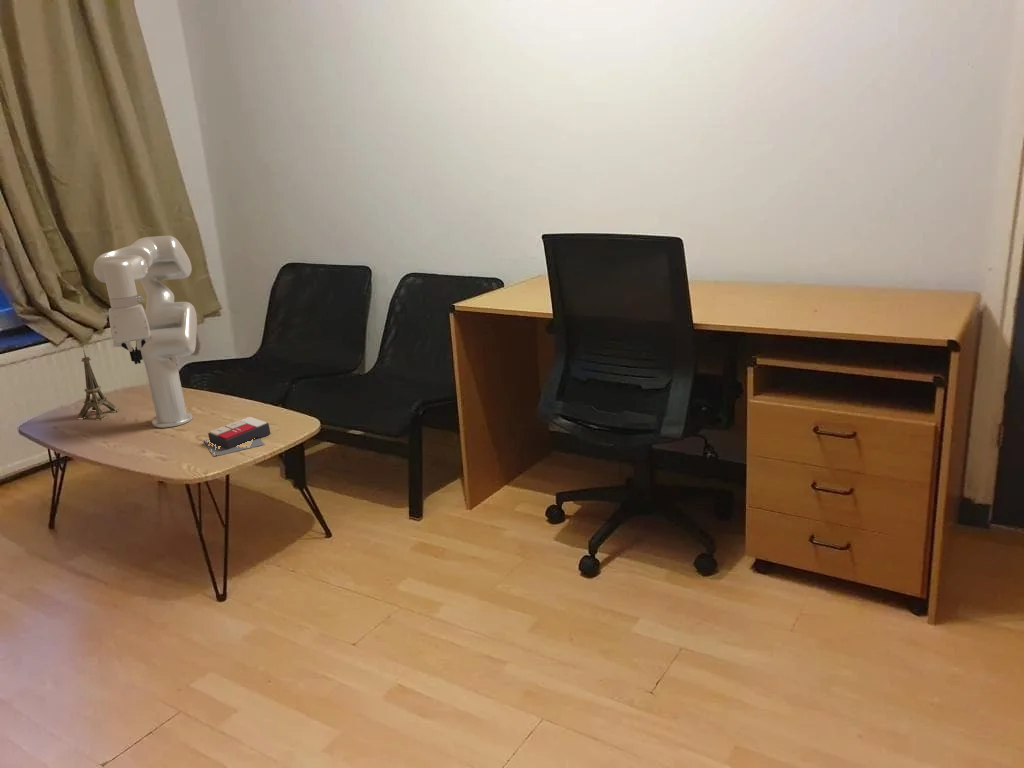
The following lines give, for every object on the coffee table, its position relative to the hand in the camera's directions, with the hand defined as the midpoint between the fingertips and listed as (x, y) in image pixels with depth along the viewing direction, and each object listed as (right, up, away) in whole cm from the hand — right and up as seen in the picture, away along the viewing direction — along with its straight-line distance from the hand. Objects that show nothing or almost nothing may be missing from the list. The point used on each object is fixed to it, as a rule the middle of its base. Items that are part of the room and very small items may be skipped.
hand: (137, 362), depth 239 cm
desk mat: (+26, -24, +8) cm, 36 cm away
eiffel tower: (-33, -17, +43) cm, 57 cm away
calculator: (+27, -23, +11) cm, 37 cm away
